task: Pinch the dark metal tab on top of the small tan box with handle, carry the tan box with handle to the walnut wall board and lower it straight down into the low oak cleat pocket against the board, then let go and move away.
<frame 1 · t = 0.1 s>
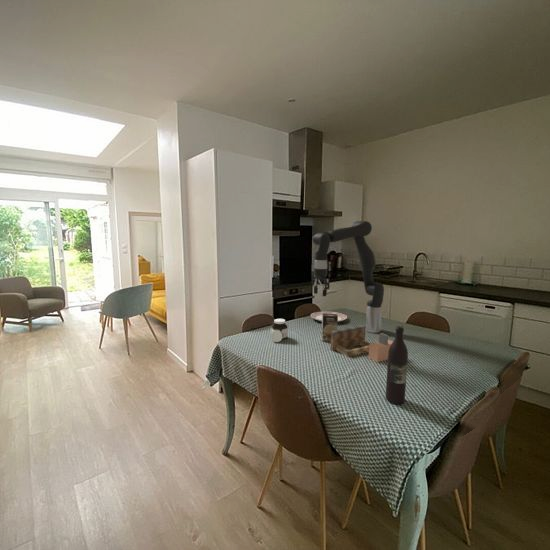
hand: (319, 294, 175), 29 cm above the table, tool pointing down, fingers open, 8 cm apart
dinner plate: (328, 319, 226), on the table
spread jar: (279, 339, 183), on the table
coffee box: (328, 340, 183), on the table
wine bottle: (394, 400, 117), on the table
tan box with handle: (382, 357, 157), on the table
cleat board: (348, 346, 172), on the table
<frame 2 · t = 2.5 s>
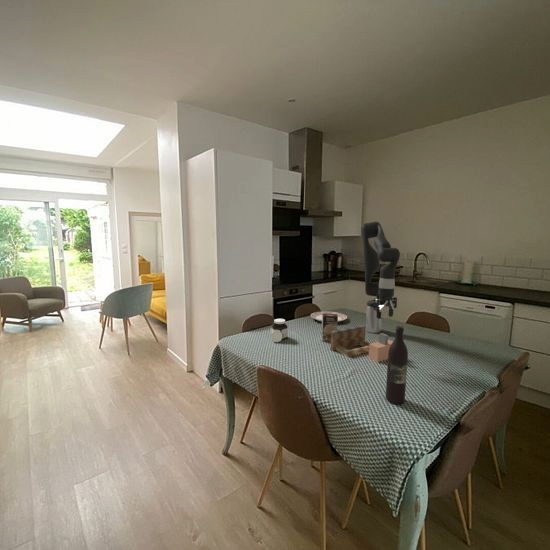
hand: (384, 317, 154), 22 cm above the table, tool pointing down, fingers open, 8 cm apart
nothing on the table moved.
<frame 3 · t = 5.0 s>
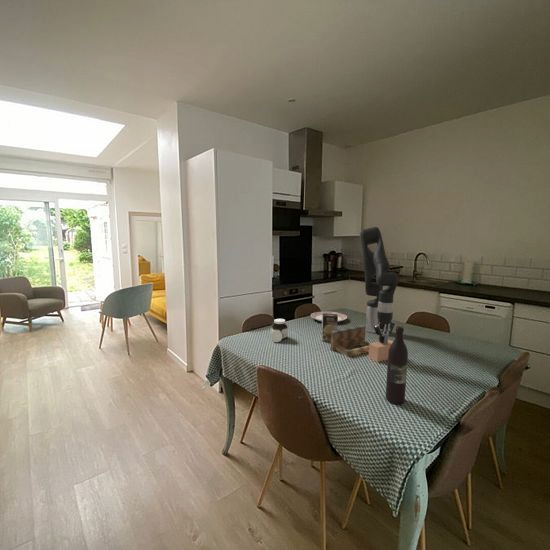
hand: (383, 342, 156), 9 cm above the table, tool pointing down, fingers closed on tan box with handle
tan box with handle: (382, 357, 157), on the table, touching gripper
everything else where it was.
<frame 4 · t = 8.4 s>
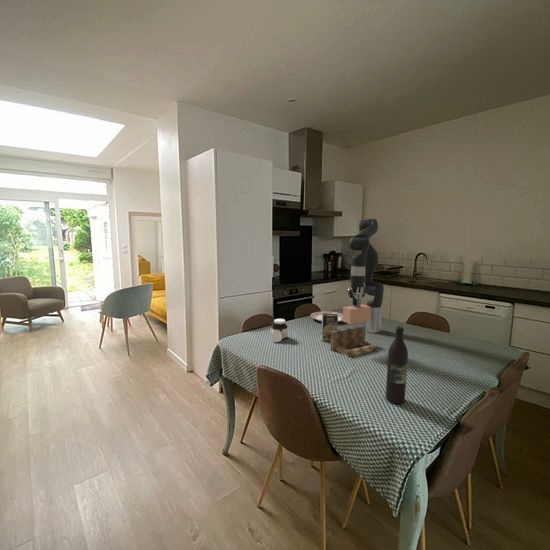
hand: (356, 305, 163), 26 cm above the table, tool pointing down, fingers closed on tan box with handle
tan box with handle: (355, 320, 165), point 17 cm above the table, touching gripper
everything else where it was.
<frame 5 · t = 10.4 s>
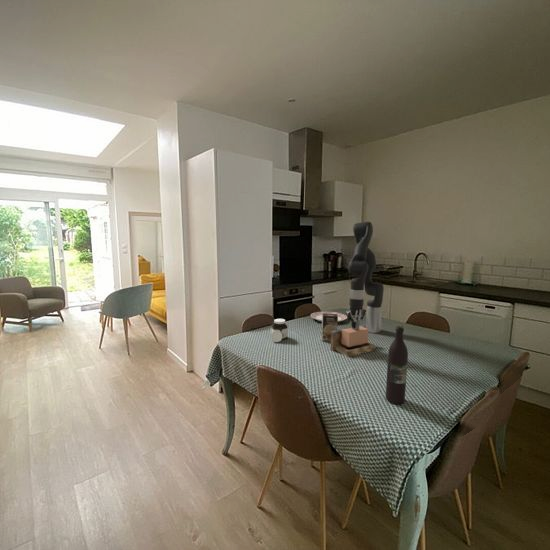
hand: (355, 327, 165), 13 cm above the table, tool pointing down, fingers closed on tan box with handle
tan box with handle: (354, 342, 167), point 4 cm above the table, touching gripper
everything else where it was.
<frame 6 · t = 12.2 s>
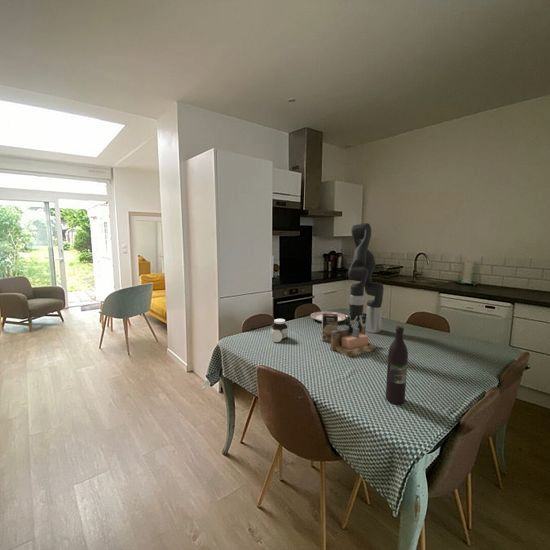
hand: (355, 332, 166), 11 cm above the table, tool pointing down, fingers open, 6 cm apart
tan box with handle: (354, 350, 167), resting in cleat board
everything else where it was.
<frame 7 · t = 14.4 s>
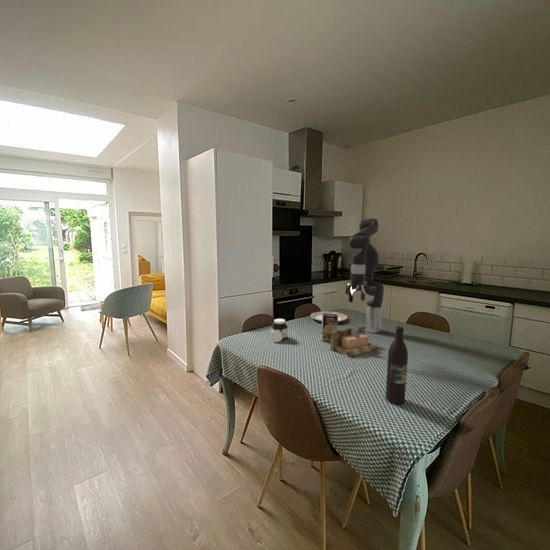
hand: (356, 301, 163), 28 cm above the table, tool pointing down, fingers open, 8 cm apart
nothing on the table moved.
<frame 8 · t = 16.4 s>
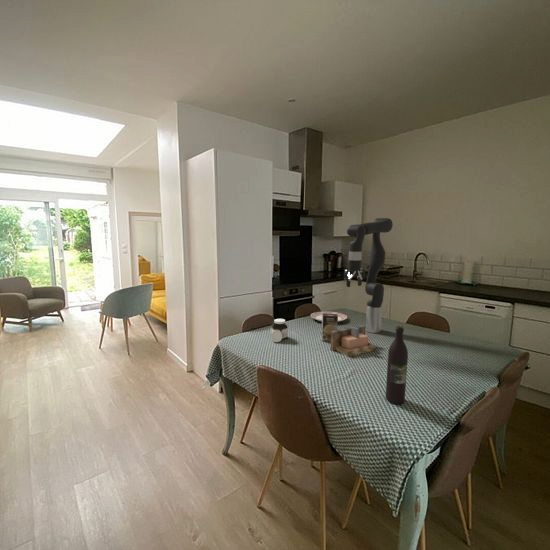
hand: (353, 286, 176), 34 cm above the table, tool pointing down, fingers open, 8 cm apart
nothing on the table moved.
at the end: tan box with handle 0.2 cm from the target spot on the cleat board, point 0.0 cm above the cleat board's base; tan box with handle tilted 0°; the gripper is holding nothing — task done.
